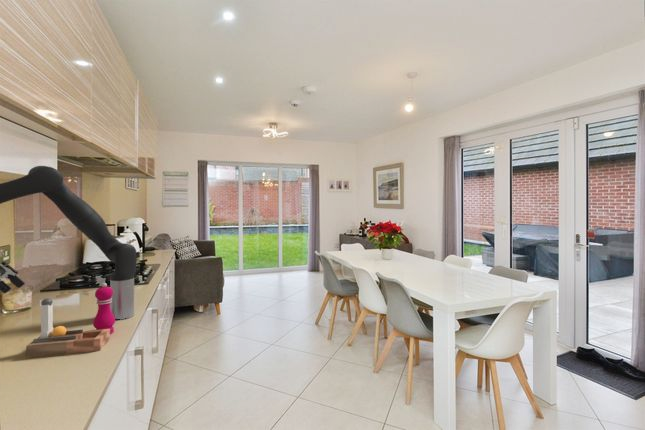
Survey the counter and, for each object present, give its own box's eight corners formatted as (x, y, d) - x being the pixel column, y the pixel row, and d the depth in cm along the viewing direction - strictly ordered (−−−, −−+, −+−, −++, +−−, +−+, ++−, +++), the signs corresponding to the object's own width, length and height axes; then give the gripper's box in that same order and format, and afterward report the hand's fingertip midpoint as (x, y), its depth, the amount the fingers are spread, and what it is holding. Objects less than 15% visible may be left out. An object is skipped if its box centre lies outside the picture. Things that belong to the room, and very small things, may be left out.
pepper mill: (91, 333, 127) (91, 282, 127) (112, 328, 132) (112, 280, 132) (95, 338, 122) (94, 286, 122) (117, 333, 127) (117, 283, 127)
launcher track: (42, 345, 116) (42, 331, 116) (110, 339, 122) (110, 325, 122) (26, 357, 106) (26, 342, 106) (100, 350, 112) (100, 335, 112)
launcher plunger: (45, 336, 113) (44, 297, 113) (55, 335, 114) (55, 296, 114) (38, 341, 109) (38, 300, 109) (49, 340, 110) (48, 299, 110)
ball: (55, 336, 114) (55, 324, 114) (68, 334, 115) (68, 323, 115) (49, 340, 110) (49, 329, 110) (63, 339, 112) (63, 327, 111)
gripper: (-30, 247, 99) (14, 284, 103) (-3, 243, 112) (36, 276, 116) (-55, 264, 97) (-9, 301, 101) (-24, 259, 110) (16, 292, 114)
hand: (15, 288), depth 108 cm, fingers open, 8 cm apart
